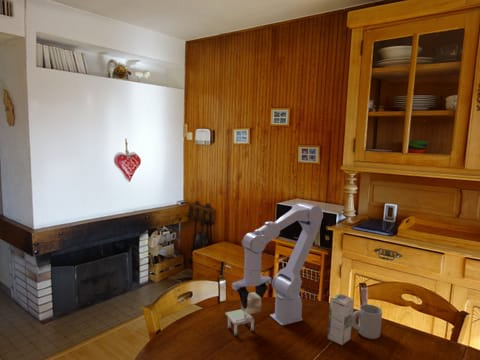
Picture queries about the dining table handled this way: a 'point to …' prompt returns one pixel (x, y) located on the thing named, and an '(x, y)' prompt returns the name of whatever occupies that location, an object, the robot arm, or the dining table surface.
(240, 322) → the small white stool
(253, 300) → the birch block
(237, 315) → the end pad
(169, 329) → the dining table surface
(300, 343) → the dining table surface
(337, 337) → the syrup box
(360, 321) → the cup
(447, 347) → the dining table surface
